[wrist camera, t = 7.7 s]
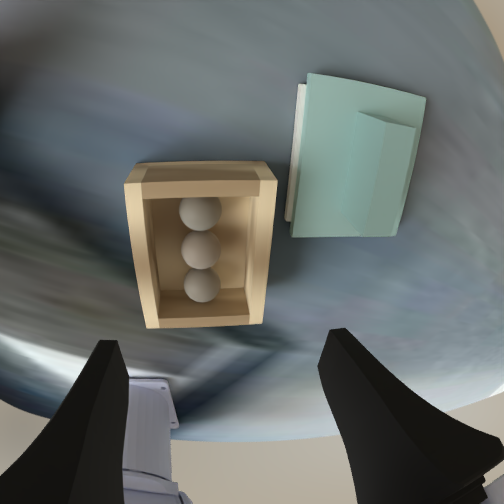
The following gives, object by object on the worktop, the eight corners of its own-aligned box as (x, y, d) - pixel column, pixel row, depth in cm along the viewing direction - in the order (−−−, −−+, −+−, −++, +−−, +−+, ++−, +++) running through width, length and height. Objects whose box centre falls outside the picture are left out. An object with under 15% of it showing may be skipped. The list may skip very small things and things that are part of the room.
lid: (391, 231, 20) (419, 260, 17) (289, 232, 19) (307, 266, 16) (420, 96, 15) (459, 107, 12) (307, 73, 14) (335, 75, 11)
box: (253, 290, 22) (262, 323, 19) (151, 294, 21) (146, 328, 18) (264, 161, 17) (277, 180, 14) (136, 163, 16) (123, 183, 13)
